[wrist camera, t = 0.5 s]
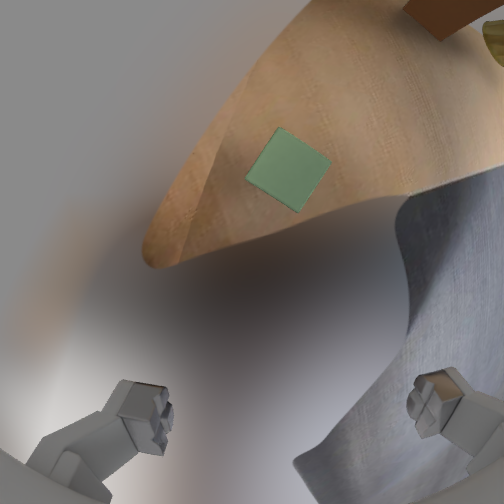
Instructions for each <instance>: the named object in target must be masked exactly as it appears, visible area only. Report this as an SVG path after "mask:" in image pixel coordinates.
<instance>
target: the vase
mask: <svg viewBox="0 0 504 504" xmlns="http://www.w3.org/2000/svg"><path fill="white" fill-rule="evenodd" d="M482 31H483V37H484V40H485V43H486V45H487V47H488V49H489V51H490V53H491V54H492V56H493V57H494V59H495V60H496V61H497V62H498V63H499V64H500V65H501V66H503V67H504V20H498V21H491V22H489V21H486V22H485V23H484V24H483V28H482Z"/></svg>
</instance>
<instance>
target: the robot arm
mask: <svg viewBox="0 0 504 504" xmlns="http://www.w3.org/2000/svg"><path fill="white" fill-rule="evenodd" d="M414 387H415V388H414V389H413V390H412V391H411V392H410V393H409V396H408V398H407V406H406V408H407V412H408V414H409V416H410V418H412V419H414V420H415V421H416V423H415V428H416V430H417V431H418V433H419V435H420V437H421V439H424V438H427V437H430V436H433V435H436V434H439V433H441V435H442V436H444V437H445V438H446V439H448V440H449V441H451V442H452V443H454V444H455V445H457V446H458V447H460V448H461V449H462V450H464V451H465V452H467V453H468V454H470V455H471V456H473V457H474V458H473V459H472V460H471V461H470V463H469V464H468V465H467V467H466V470H467V472H468V474H469V477H467V478H465V479H463V480H461V481H459V482H457V483H455V484H453V485H451V486H449V487H447V488H445V489H443V490H441V491H439V492H436V493H434V494H432V495H429V496H427V497H424V498H422V499H419V500H417V501H414V502H412V503H409V504H504V401H501V400H499V399H496V398H494V397H491V396H489V395H487V394H484V393H482V392H479V391H476V392H475V391H474V390H473V389H472V387H471V386H470V385H469V384H468V383H467V381H466V380H465V379H464V378H463V377H462V375H461V374H460V373H459V372H458V371H457V370H456V368H454V367H449V368H445V369H441V370H438V371H434V372H430V373H426V374H422V375H419V376H418V377H417V378H416V379H415V382H414ZM168 398H169V393H168V389H167V388H166V387H164V386H157V385H152V384H146V383H140V382H133V381H128V380H121V381H120V382H119V383H118V384H117V386H116V388H115V389H114V391H113V393H112V394H111V396H110V398H109V399H108V401H107V403H106V404H105V406H104V408H103V410H102V411H101V412H99V411H96V412H94V413H92V414H91V415H89V416H87V417H85V418H83V419H81V420H79V421H77V422H75V423H73V424H70V425H68V426H66V427H64V428H62V429H60V430H58V431H56V432H54V433H52V434H49V435H47V436H45V437H43V438H42V439H41V441H40V442H39V444H38V446H37V447H36V449H35V450H34V452H33V453H32V455H31V456H30V458H29V460H28V461H27V463H26V464H23V463H21V462H20V461H18V460H17V459H15V458H14V457H12V456H11V455H9V454H8V453H6V452H5V451H3V450H2V449H0V504H110V502H111V499H112V494H111V492H110V491H109V490H108V489H107V488H106V487H105V485H104V484H103V483H102V481H103V480H105V479H106V478H107V477H109V476H110V475H111V474H113V473H114V472H115V471H117V470H118V469H119V468H120V467H121V466H123V465H124V464H125V463H127V462H128V461H129V460H130V459H132V458H133V457H134V456H135V455H137V454H138V452H142V453H147V454H153V455H159V456H164V452H165V449H166V446H167V442H168V440H167V437H166V434H167V433H169V432H170V431H171V429H172V426H173V418H174V413H173V407H172V404H170V403H169V402H168Z"/></svg>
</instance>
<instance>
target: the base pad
mask: <svg viewBox="0 0 504 504" xmlns="http://www.w3.org/2000/svg"><path fill="white" fill-rule="evenodd" d="M502 5H504V0H410V1H409V2H408V3H407V4H406V5H405V6H404V7H403V10H404V11H406V12H407V13H408V14H409V15H411V16H412V17H413V18H414V19H415V20H417V21H418V22H419V23H420V24H421V25H422V26H424V27H425V28H426V29H427V30H428V31H429V32H430V33H431V34H432V35H433V36H435V37H436V38H437V39H438V40H439V41H442V40H443V39H445V38H447V37H448V36H450V35H451V34H453V33H455V32H456V31H458V30H460V29H461V28H463V27H465V26H466V25H468V24H470V23H471V22H473V21H475V20H477V19H478V18H480V17H482V16H484V15H486V14H487V13H489V12H491V11H493V10H495V9H496V8H498V7H500V6H502Z"/></svg>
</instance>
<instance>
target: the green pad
mask: <svg viewBox="0 0 504 504" xmlns="http://www.w3.org/2000/svg"><path fill="white" fill-rule="evenodd" d="M331 163H332V162H331V161H330V160H329V159H327V158H326V157H325V156H323V155H322V154H320V153H319V152H317V151H316V150H315V149H313V148H312V147H310V146H309V145H307V144H306V143H304V142H303V141H301V140H300V139H298V138H297V137H295V136H294V135H292V134H290V133H289V132H287V131H286V130H284V129H283V128H281V127H278V128H277V130H276V131H275V133H274V134H273V136H272V137H271V139H270V140H269V142H268V143H267V145H266V146H265V148H264V149H263V151H262V152H261V154H260V155H259V157H258V158H257V160H256V161H255V163H254V164H253V166H252V167H251V169H250V170H249V172H248V174H247V175H246V177H245V180H246V181H248V182H250V183H251V184H253V185H254V186H256V187H258V188H259V189H261V190H262V191H264V192H265V193H267V194H269V195H270V196H272V197H273V198H275V199H276V200H278V201H279V202H281V203H283V204H284V205H286V206H287V207H289V208H290V209H292V210H293V211H295V212H296V213H299V212H300V210H301V209H302V207H303V206H304V204H305V203H306V201H307V200H308V198H309V197H310V195H311V194H312V192H313V191H314V189H315V188H316V186H317V185H318V183H319V181H320V180H321V178H322V177H323V175H324V174H325V172H326V171H327V169H328V168H329V166H330V165H331Z"/></svg>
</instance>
